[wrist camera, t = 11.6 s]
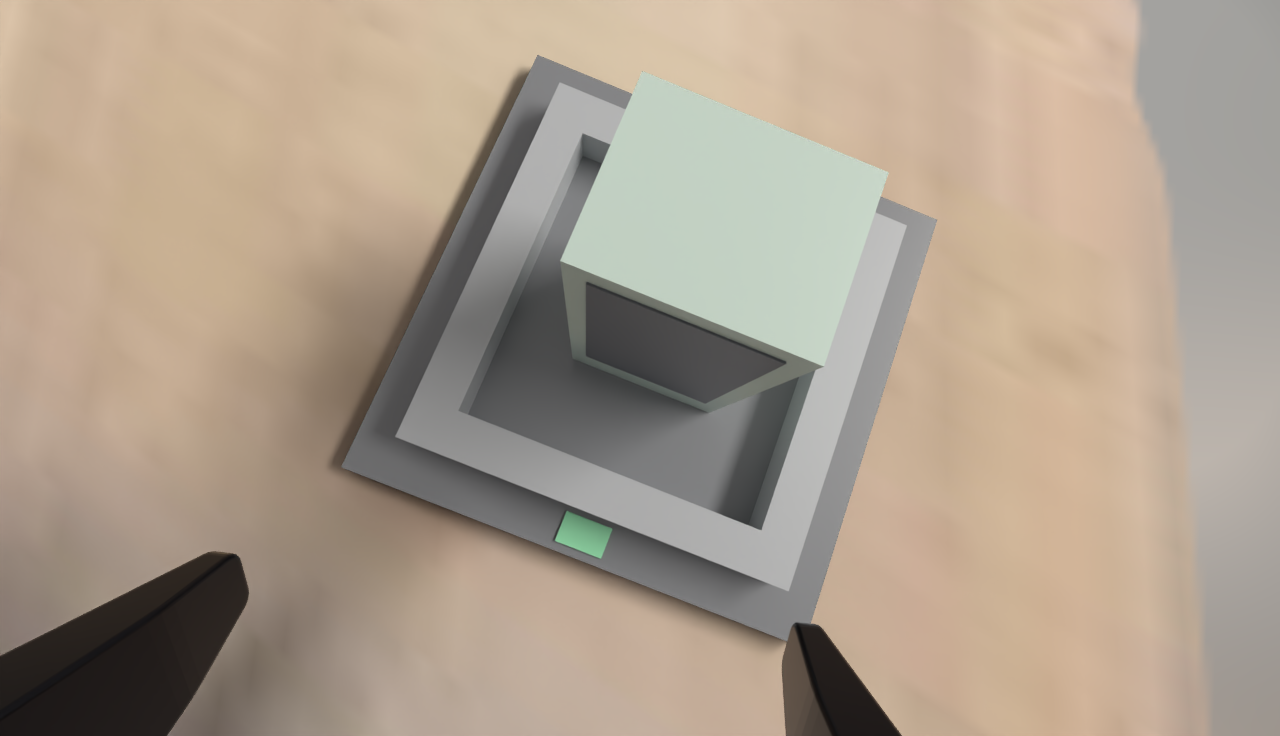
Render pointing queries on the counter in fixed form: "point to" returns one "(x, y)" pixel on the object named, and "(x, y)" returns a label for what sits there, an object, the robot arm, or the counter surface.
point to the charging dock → (624, 395)
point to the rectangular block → (713, 250)
